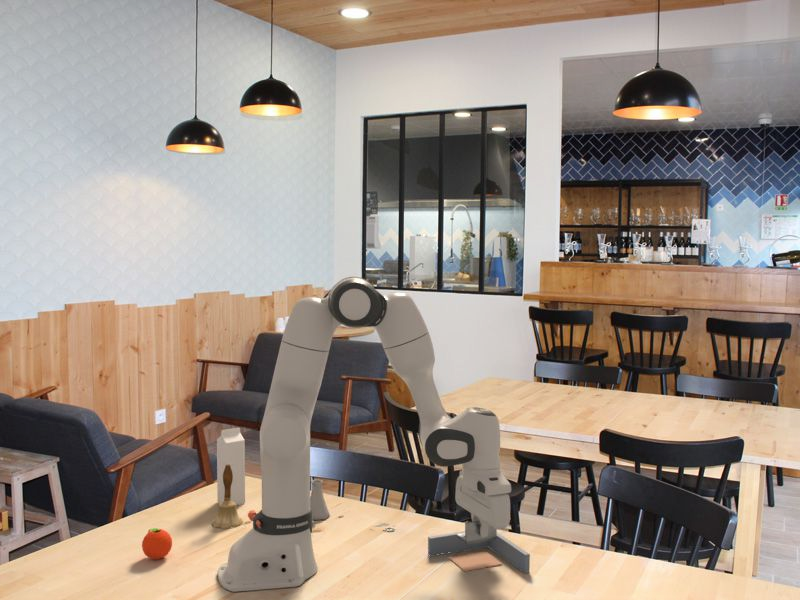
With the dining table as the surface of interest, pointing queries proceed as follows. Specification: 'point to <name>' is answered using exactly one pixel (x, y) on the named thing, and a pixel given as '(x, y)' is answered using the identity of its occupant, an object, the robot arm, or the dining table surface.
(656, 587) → the dining table surface
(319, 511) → the flask
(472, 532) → the angle bracket
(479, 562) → the mat
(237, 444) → the milk
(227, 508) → the wooden handled brush
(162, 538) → the clementine
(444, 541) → the grey l-shaped piece
